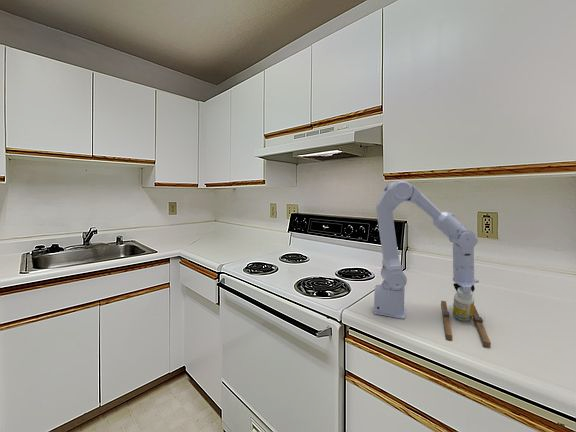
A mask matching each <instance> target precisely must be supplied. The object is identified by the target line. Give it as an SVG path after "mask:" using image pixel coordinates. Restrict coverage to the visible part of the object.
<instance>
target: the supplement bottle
mask: <svg viewBox="0 0 576 432" xmlns="http://www.w3.org/2000/svg"><path fill="white" fill-rule="evenodd" d="M473 293H474V291H473V292H472V290H471V293H465V292H463V288H462V287H459V288H458V289H457V291H456V293H455V294H454V297H453V303H452V304H453V305H452V314H453V316H454V317H455V318H456V319H457V320H460V321H463V322H464V321H465V322H467V321H470V320H472V319H473V318H472V314H473V307H474V305H475V298H474V296H473Z"/></svg>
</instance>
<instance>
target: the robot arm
mask: <svg viewBox="0 0 576 432" xmlns="http://www.w3.org/2000/svg"><path fill="white" fill-rule="evenodd" d="M403 202H407V203H408V202H409V203H411V204H415V206H417V207H418V208H420V209H421V210H422V212H424V213H425V214H426V215H428V216H429V217H431V218H432V224H433V226H434V227H436V228H437V229H438V230H439V231H440V232H441V233H442V234H443V235H445V237H447V238H448V240H449V242H450V243H452V272H453V273H452V275H453V277H452V282H454V283H453V288H454V290H455V292H457V289H458V288H459V287H462V288H463V292H465V293H471V290H472V292H473V293H474V291H475V285H474V284H475V283H476V284H477V283H478V284H479V282H480V281H479V279H478V278H475V246H476V245H477V244H478V241H479V239H478V238H477V237H476V236H477V235H476V234H475V233H474V231H473V230H469V229H466V227H467V226H466V224H464V223H461V222H460V221H459V220H458V219H456V217H455V214H454V213H453V212H449V211H441V210H440V209H439V208H438V207H437V206H436V205H435V204H434V203H433V202H431V200H429V199H428V197H426V195H424V194H423V193H422V192H421V191H420V190H419V189H418V188H417V187H415V186H414V185H412V184H411V183H410V182H409V181H407V180H396V181H395V180H394V181H392V182H389V184H387V185H386V186H385V187H384V188H383V190H382V193H381V195H380V196H379V199H378V202H377V203H376V205H375V211H376V219H377V224H378V232H379V240H380V245H381V246H380V247H381V253H382V261H381V265H382V267H381V270H380V275H381V278H382V279H383V280H382V283H381V284H376V285H375V286H374V294H373V295H374V300H373V301H374V304H373V305H374V307H373V310H374V311H373V314H375V315H379V316H384V317H391V318H397V319H402V320H404V319H405V317H406V312H407V308H405V289H406V288H405V287H406V285H407V283H408V282H407V276H406V275H405V273H404V271H403V267H402V264H401V263H402V262H401V261H400V257H399V249H398V244H397V236H396V229H395V221H394V220H395V219H394V214H393V212H394V210H396V208H397V207H398V206H399V205H400V204H401V203H403Z"/></svg>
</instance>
